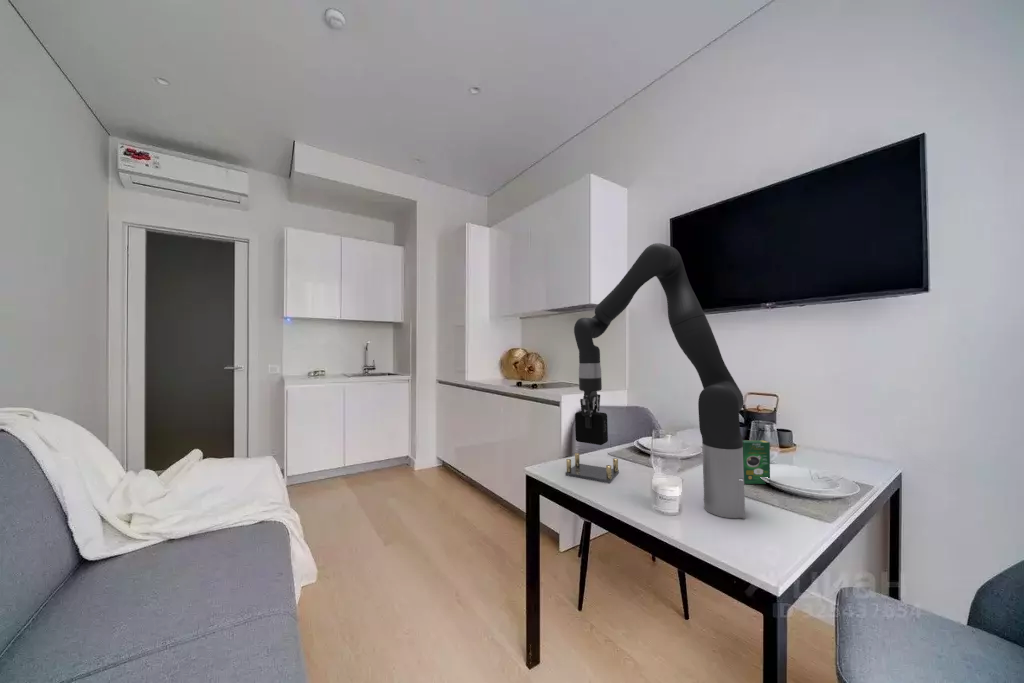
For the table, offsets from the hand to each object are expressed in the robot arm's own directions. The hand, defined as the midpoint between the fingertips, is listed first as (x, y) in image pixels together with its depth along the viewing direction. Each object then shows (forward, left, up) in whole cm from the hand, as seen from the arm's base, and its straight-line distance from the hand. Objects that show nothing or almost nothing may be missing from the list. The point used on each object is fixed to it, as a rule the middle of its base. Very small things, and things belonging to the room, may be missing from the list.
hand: (591, 426), depth 124 cm
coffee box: (-47, -16, -16) cm, 52 cm away
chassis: (0, 0, -16) cm, 16 cm away
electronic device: (0, 0, -6) cm, 6 cm away
